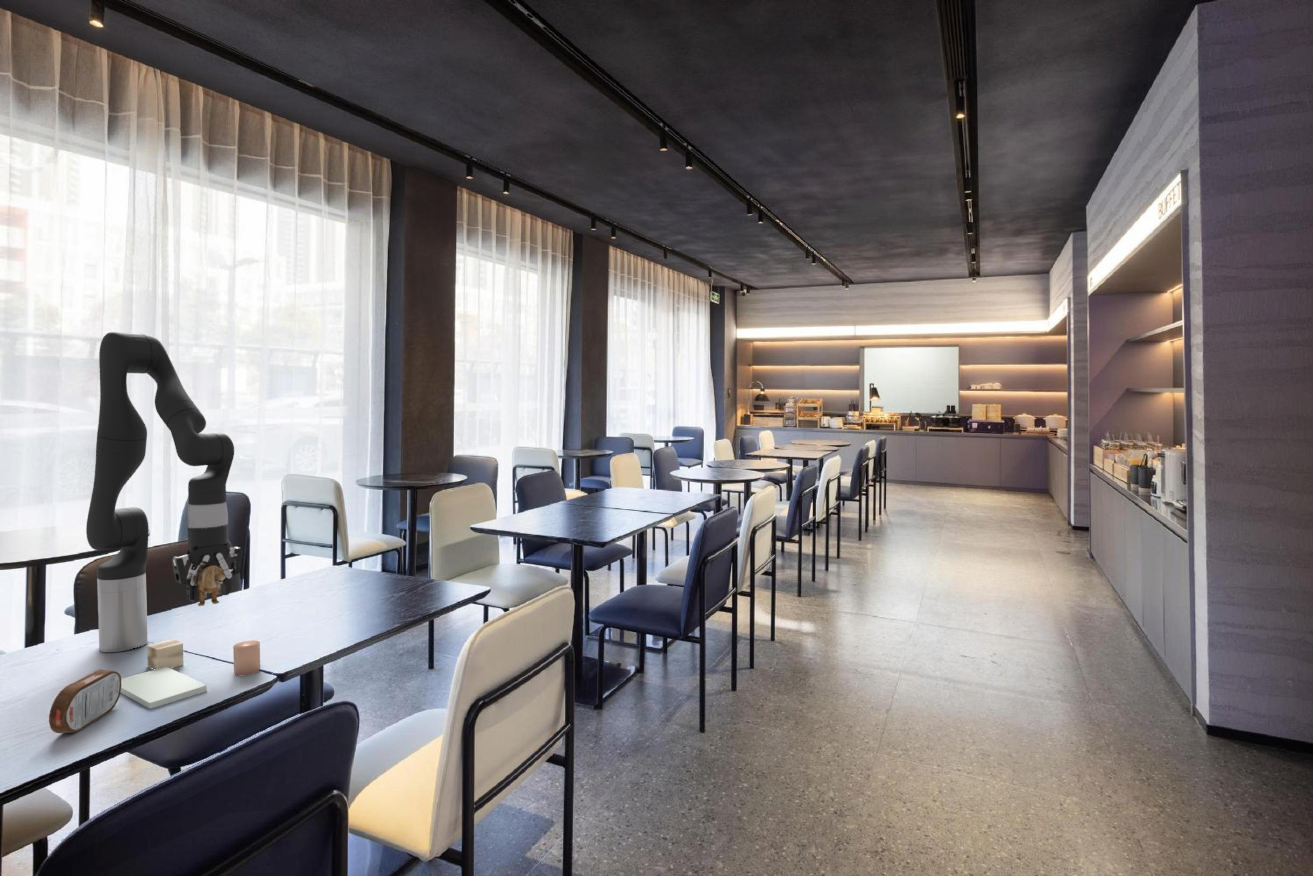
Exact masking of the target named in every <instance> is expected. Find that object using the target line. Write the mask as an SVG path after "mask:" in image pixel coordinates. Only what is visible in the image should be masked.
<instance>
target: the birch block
mask: <svg viewBox="0 0 1313 876" xmlns="http://www.w3.org/2000/svg"><path fill="white" fill-rule="evenodd" d="M146 647H147V648H146V649H147V650H146V653H147V667H148V666H149V667H151V668H153V669H159V668H162V667H168V668H171V669H173V668H172V667H174V668H177V667H180V665H181V666H184V643H183V642H181V641H178V640H176V639H174V638H171V639H168V640H163V641H160V642H155V643H151V644H148V645H147V646H146ZM176 666H177V667H176ZM149 667H148V668H149ZM151 668H150V669H151ZM153 669H152V670H153Z"/></svg>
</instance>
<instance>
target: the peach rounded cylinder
mask: <svg viewBox="0 0 1313 876" xmlns="http://www.w3.org/2000/svg"><path fill="white" fill-rule="evenodd" d="M232 649H233V653H232V654H233V675H234V674H235V675H234V676H237V675H245V676H249V674H250V675H254V674H257V673H259V672H260V671H261V643H260V641H259V640H244V641H241V642H238V643H234V644H233V646H232ZM259 670H260V671H259ZM253 673H254V674H253Z"/></svg>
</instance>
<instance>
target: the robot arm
mask: <svg viewBox="0 0 1313 876" xmlns="http://www.w3.org/2000/svg"><path fill="white" fill-rule="evenodd" d="M98 355H99V356H98V358H99V360H98V364H99V365H98V366H99V368H98V369H99V393H100V394H99V395H100V396H99V398H100V399H99V410H98V411H99V413H98V425H97V432H96V444H95V463H94V464H95V466H94V476H93V477H94V479H93V487H92V492H91V497H90V503H89V507H88V514H87V519H86V529H85V531H86V533H85V534H86V541H87V543H88V544H89V546H90V547H91V549H93V550H95V551H106V550H112V549H113V550H115V549H119V551H118V552H117V554H115V556H113V557H112V558H110V559H108V560H107V561H104V562H103V563H101V564H99V565H98V567H97V569H96V579H97V580H96V583H97V612H98V615H97V616H98V647H99V648H98V650H99V651H100V652H101V653H102V652H103V653H118V652H125V651H130V649H131V650H134V649H133V648H135V649H137V647H138V648H140V646H141V647H143V646H145V645H146V644H147V643H148V642H147V641H148V611H147V610H148V607H147V604H148V601H147V577H146V576H147V575H146V574H147V572H146V571H147V569H146V567H147V563H148V558H149V531H150V530H149V528H150V527H149V520H148V517H147V515H146V512H145V511H144V510H143V509H142V508H140V507H136V506H135V507H134V506H133V507H124V508H116V505H117V501H118V497H119V495H120V493H121V491H122V489H123V488H124V486H125V485H126V484H127V483H128V481H129V480H130V479H131V478H132V476H133V475H134V474H135V473H136V471H137V470H138V469H139V467H140V466H141V465H142V463H143V462H144V460H145V457H146V453H147V452H146V451H147V439H148V429H147V426H146V424H145V422H144V420H143V418H142V417H141V415H140V414H139V412H138V410H137V409H136V408H135V406H134V404H133V403H132V401H131V399H130V397H129V393H128V387H127V380H128V379H127V376H128V374H147V375H148V376H149V377H151V378H152V379H153V380H154V382H155V383H156V391H155V396H154V407H155V410H156V413H157V414H158V416H159V417H160V419H161V420H162V421H163V423H164V424H165V426H166V428H168V430H169V431H170V433H171V437H172V439H173V444H174V447H175V451H176V455H177V457H178V458H179V460H180V461H181V462H182V463H184V464H186V465H188V466H190V467H201V466H206V468H205V470H204V473H202V474H200V475H197V476H194V477H192V478H190V479H189V480H188V483H187V484H188V485H187V486H188V487H187V488H188V489H187V493H188V494H187V499H188V502H187V503H188V506H187V514H186V515H187V517H186V519H187V521H186V522H187V547H188V548H187V552H186V554H183V555H181V556H173V557H171V563H172V564H171V565H172V569H173V574H174V578H175V582H176V583H177V584H181V585H184V586H186V599H187V600H188V601H189V602H192V603H197V602H198V599H199V594H198V590H199V589H198V587H197V581H198V578H199V575H200V573H201V572H202V571H203V570H204V569H205V568H206V567H209V566H217V567H218V570H219V571H221V573H222V574H224V575H226V578H225V579H224V580H223V583H222V584H221V594H220V595H223V596H228V595H229V594H230V593H231V591H232V578H233V577H234V576H235V575H239V574H240V573H241V569H242V561H243V554H244V548H242V547H239V546H233V547H230V546H229V544H228V543H229V514H228V506H227V482H228V479H229V474H230V470H231V467H232V463H233V460H234V458H235V445H234V443H233V441H232V439H231V438H230V436H228V434H226V433H221V432H212V433H211V432H210V433H209V432H208V433H203V431H204V430H205V429H206V426H207V420H206V418H205V417H204V415H203V413H202V412H201V411H200V409H199V408H198V407H197V405H196V404H195V403H194V401H193V400H192V399H191V398H190V396H189V394H188V393H187V391H186V390H185V388H184V387H183V385H182V384H183V383H182V382H181V380H180V377H179V375H178V373H177V372H176V369H175V367H174V365H173V362H172V360H171V358H170V357H169V354H168V353H167V351H166V349H165V346H164V345H163V343H162V342H161V341H160V340H159V339H158V338H157V337H155V336H154V335H151V334H145V333H134V332H122V331H121V332H120V331H111V332H108V333H105V335H104V336H103V337H102V340H101V342H100V345H99V354H98ZM228 555H229V556H230V564H229V565H228V564H227V561H226V559H227V557H228ZM187 561H189V563H190V567H189V569H188V571H187V572H188V574H187V573H186V567H185V566H186V565H187Z"/></svg>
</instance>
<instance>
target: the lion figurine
mask: <svg viewBox="0 0 1313 876" xmlns="http://www.w3.org/2000/svg"><path fill="white" fill-rule="evenodd" d="M225 578H226V575H224V574H222V573H221V571H219V570H218V567H217V566H209V567H206V568H205V569H204V570H203V571H202V572H201V573H200V575H199V578H198V581H197V583H196V585H197V588H198V599H199V602H198V603H197V606H198V607H204V606H205V604H206V600H205V599H206V598H207V594H211V599H210V600H211V601H210V602H211V604H213V605H217V604H219V603H220V601H219V600H218V595H222V594H221V584H222V583H223V580H224V579H225Z"/></svg>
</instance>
